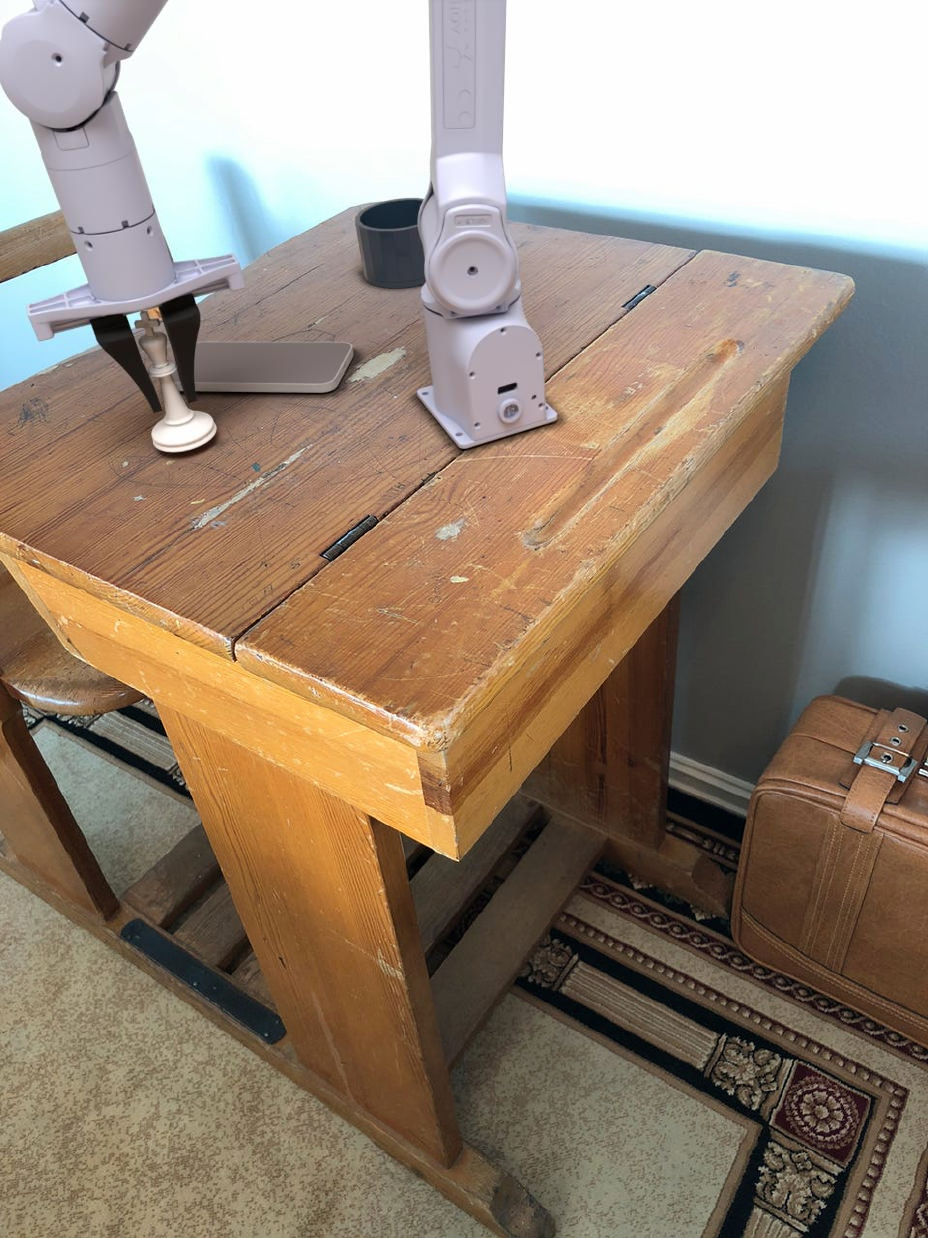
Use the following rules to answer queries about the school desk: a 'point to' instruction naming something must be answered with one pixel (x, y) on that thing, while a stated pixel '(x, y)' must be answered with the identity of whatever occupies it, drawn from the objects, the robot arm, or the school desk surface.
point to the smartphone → (269, 366)
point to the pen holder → (391, 243)
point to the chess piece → (172, 397)
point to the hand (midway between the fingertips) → (173, 401)
